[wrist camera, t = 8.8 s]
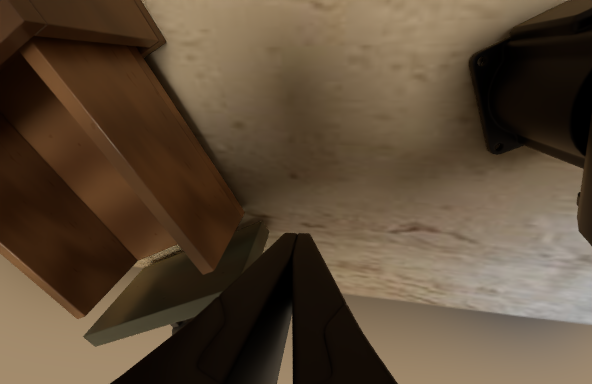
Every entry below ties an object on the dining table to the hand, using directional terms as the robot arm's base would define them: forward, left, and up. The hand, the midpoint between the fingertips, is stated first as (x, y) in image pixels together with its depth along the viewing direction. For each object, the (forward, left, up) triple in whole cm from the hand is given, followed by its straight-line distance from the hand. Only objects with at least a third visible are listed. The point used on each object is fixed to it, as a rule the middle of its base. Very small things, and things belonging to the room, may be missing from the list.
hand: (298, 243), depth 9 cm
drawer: (+3, +12, -10) cm, 16 cm away
